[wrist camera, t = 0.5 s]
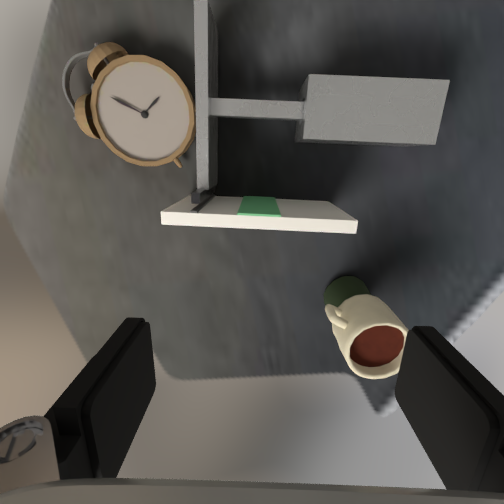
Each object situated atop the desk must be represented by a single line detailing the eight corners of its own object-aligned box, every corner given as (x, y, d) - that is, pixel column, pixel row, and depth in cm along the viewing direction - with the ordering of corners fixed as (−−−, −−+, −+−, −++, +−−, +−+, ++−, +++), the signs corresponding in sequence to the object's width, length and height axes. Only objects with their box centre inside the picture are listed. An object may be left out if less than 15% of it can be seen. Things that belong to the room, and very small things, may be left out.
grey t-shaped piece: (207, 30, 32) (183, -28, 22) (309, 35, 32) (332, -22, 22) (208, 190, 37) (189, 203, 27) (295, 194, 37) (308, 209, 27)
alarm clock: (174, 184, 35) (38, 122, 31) (178, 178, 39) (60, 122, 35) (213, 90, 32) (66, 5, 27) (212, 95, 36) (86, 23, 32)
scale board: (190, 193, 38) (160, 209, 26) (328, 199, 38) (358, 218, 26) (190, 203, 38) (161, 224, 27) (327, 210, 38) (356, 233, 27)
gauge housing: (298, 90, 34) (309, 74, 27) (410, 95, 34) (450, 79, 27) (294, 142, 36) (303, 138, 29) (400, 146, 35) (435, 144, 28)
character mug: (299, 296, 42) (315, 354, 30) (326, 256, 40) (356, 300, 28) (360, 328, 44) (400, 396, 31) (390, 291, 42) (445, 348, 29)
